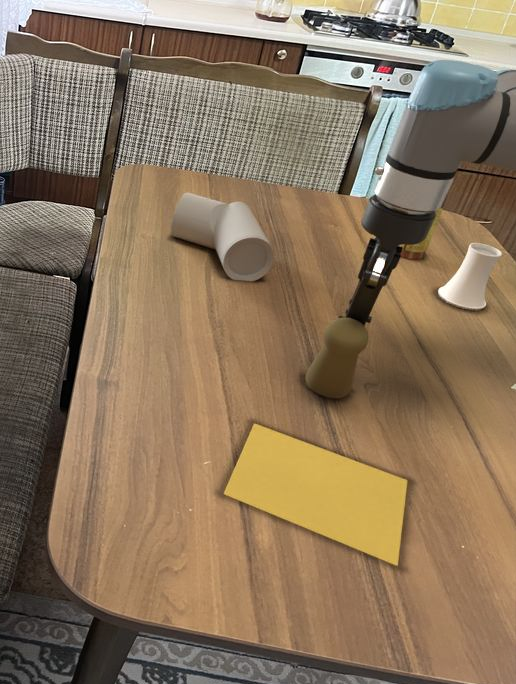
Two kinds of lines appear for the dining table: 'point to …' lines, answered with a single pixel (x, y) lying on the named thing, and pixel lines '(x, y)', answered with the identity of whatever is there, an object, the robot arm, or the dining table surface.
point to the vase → (471, 278)
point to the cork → (337, 358)
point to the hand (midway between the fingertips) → (336, 361)
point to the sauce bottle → (420, 249)
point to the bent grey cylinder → (225, 234)
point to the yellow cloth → (321, 492)
